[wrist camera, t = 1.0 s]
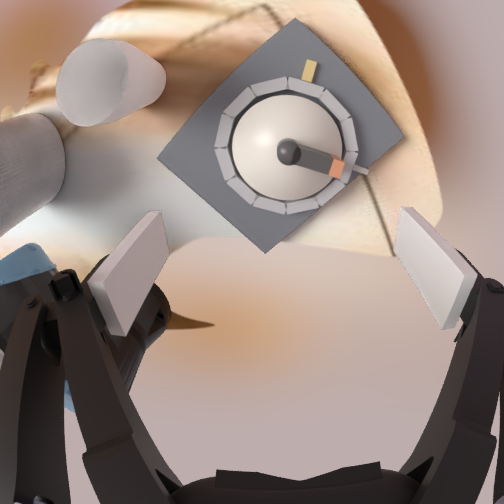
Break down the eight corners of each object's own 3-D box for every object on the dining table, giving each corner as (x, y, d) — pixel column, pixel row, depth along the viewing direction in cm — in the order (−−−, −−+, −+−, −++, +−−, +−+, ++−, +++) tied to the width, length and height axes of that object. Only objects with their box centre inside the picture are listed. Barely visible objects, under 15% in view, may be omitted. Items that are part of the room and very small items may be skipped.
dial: (224, 180, 33) (216, 193, 29) (248, 84, 27) (243, 80, 23) (319, 206, 34) (326, 223, 30) (351, 114, 28) (364, 117, 24)
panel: (268, 250, 40) (267, 261, 37) (160, 155, 34) (152, 161, 31) (401, 137, 30) (411, 141, 28) (294, 21, 24) (296, 14, 22)
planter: (34, 92, 28) (-41, 110, 15) (85, 156, 34) (10, 195, 21) (1, 161, 34) (-58, 193, 21) (45, 219, 40) (-12, 267, 27)
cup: (143, 129, 32) (91, 147, 22) (101, 89, 29) (42, 95, 19) (190, 77, 29) (150, 70, 18) (144, 37, 26) (92, 21, 15)
